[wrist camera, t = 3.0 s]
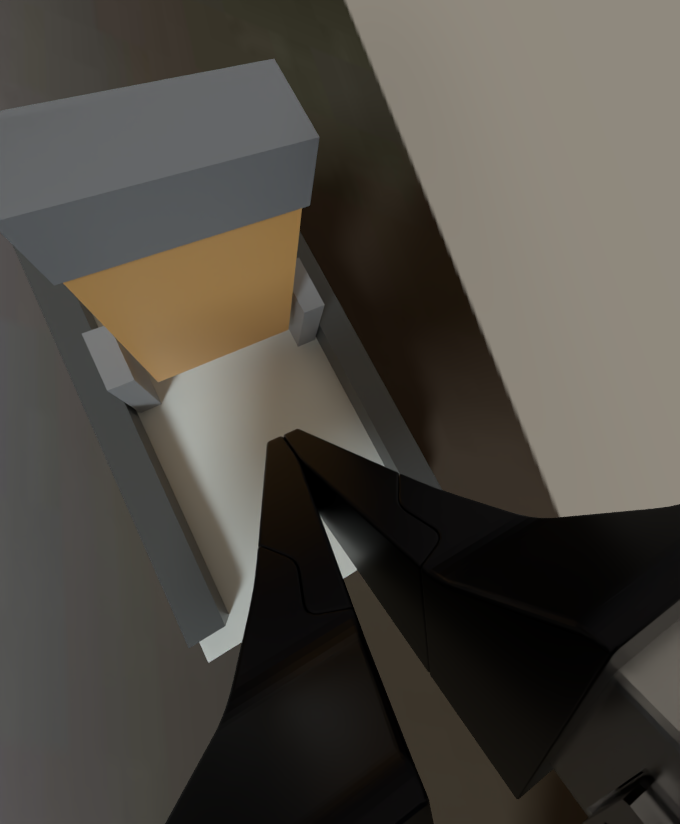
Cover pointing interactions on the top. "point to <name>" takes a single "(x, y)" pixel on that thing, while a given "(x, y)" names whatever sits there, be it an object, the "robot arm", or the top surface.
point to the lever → (166, 207)
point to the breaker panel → (224, 438)
